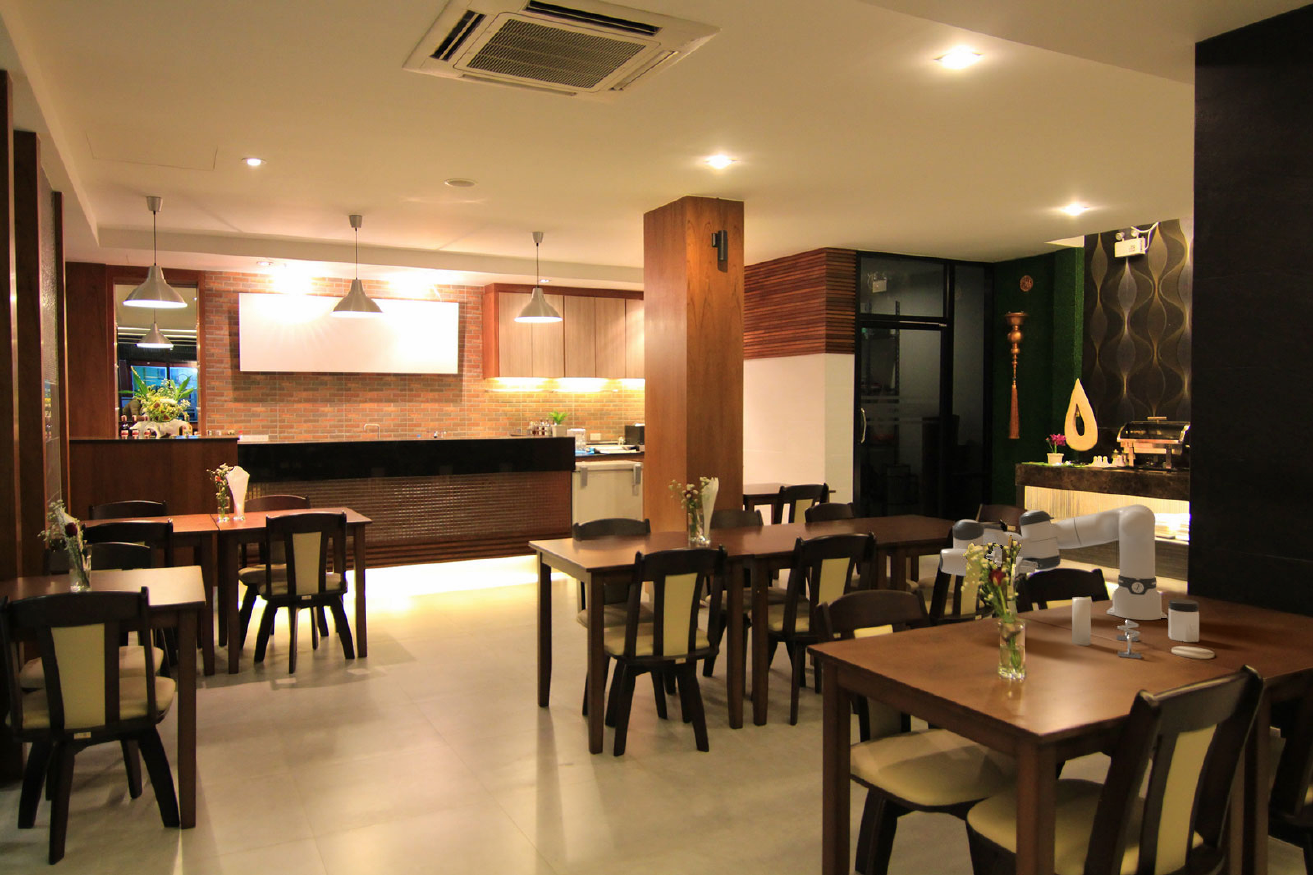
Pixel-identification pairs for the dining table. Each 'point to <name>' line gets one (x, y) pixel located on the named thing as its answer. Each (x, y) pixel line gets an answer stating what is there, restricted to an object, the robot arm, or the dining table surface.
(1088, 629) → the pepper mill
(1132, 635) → the coil spring stand
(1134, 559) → the robot arm
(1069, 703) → the dining table surface
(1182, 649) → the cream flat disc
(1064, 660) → the dining table surface
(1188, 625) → the jar
